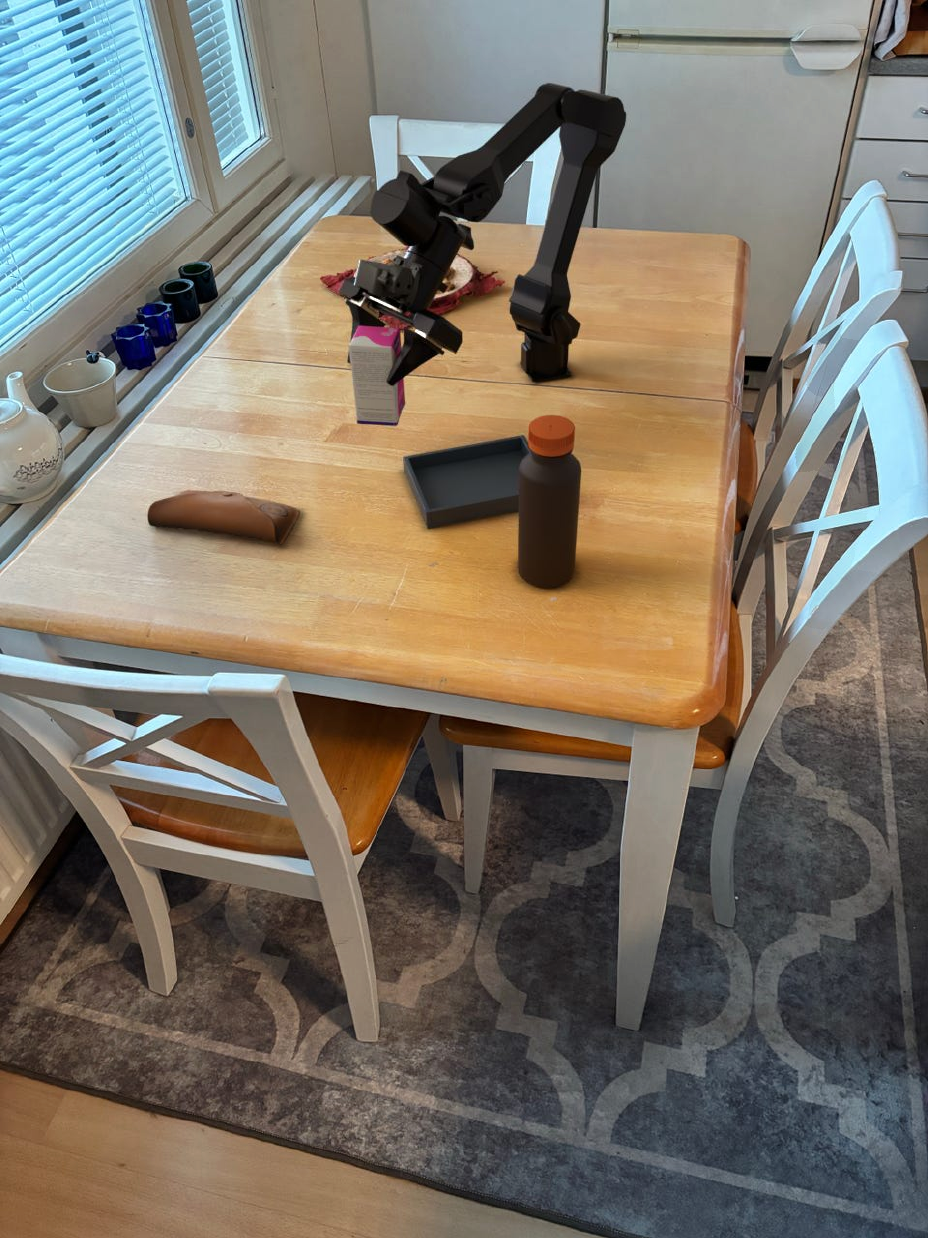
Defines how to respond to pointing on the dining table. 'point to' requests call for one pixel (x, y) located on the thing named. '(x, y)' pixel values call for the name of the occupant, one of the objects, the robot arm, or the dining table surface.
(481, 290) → the plate with food
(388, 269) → the robot arm
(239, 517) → the sunglasses case
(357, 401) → the supplement box
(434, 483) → the serving tray
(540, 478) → the bottle
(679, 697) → the dining table surface
